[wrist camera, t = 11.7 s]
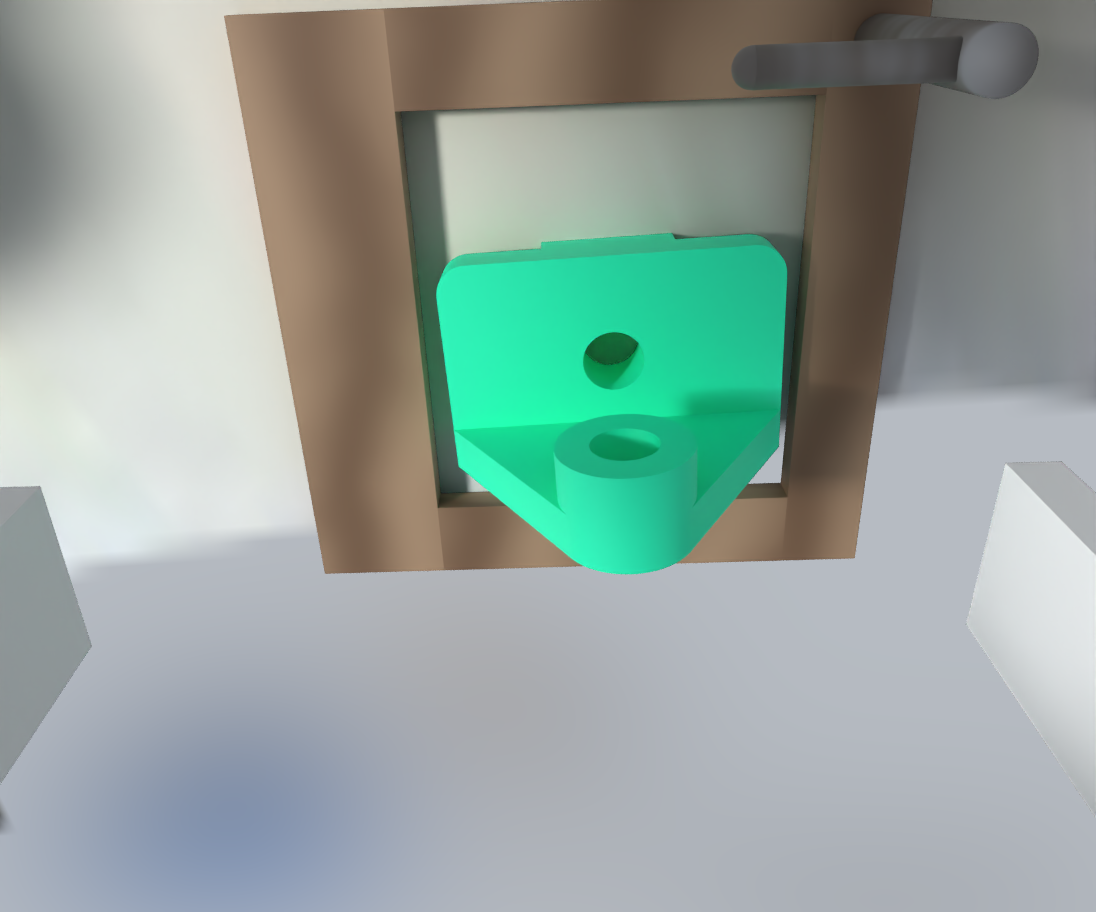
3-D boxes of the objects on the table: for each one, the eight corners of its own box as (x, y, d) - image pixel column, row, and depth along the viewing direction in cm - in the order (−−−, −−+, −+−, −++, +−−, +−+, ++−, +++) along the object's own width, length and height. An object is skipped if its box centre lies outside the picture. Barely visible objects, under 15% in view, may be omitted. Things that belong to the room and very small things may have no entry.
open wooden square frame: (331, 557, 39) (266, 725, 30) (235, 14, 29) (99, 26, 20) (846, 542, 39) (934, 708, 30) (920, -15, 29) (1084, -16, 20)
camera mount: (772, 224, 33) (857, 316, 23) (764, 417, 36) (835, 562, 27) (440, 248, 33) (397, 347, 24) (464, 435, 37) (435, 585, 27)
